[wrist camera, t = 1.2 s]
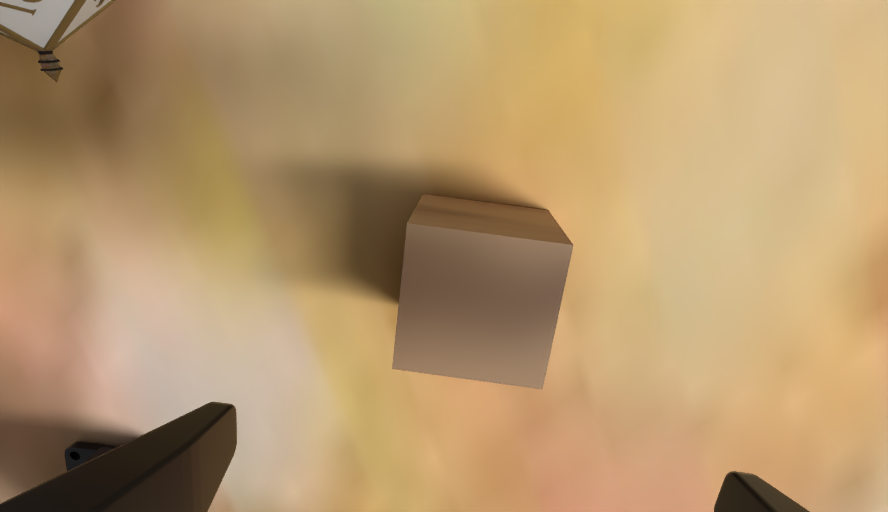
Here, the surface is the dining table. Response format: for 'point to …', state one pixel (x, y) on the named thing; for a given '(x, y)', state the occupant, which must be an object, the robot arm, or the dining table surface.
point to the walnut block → (480, 291)
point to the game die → (46, 24)
